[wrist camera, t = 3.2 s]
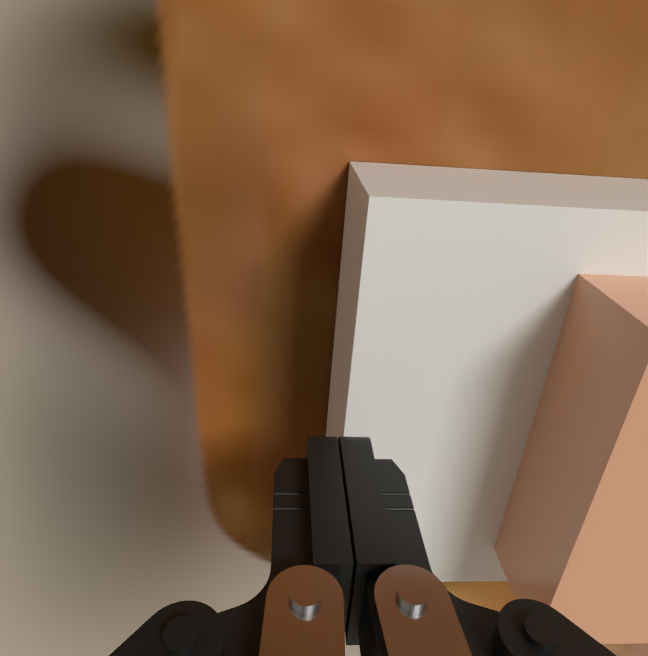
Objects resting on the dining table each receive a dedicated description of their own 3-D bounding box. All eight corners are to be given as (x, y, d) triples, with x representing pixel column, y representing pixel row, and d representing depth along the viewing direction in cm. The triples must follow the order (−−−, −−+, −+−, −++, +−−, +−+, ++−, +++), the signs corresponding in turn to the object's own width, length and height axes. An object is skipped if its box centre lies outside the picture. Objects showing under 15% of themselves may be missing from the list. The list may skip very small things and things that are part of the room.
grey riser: (349, 161, 15) (369, 196, 11) (754, 185, 16) (890, 225, 12) (321, 488, 20) (328, 582, 17) (622, 491, 21) (689, 579, 18)
